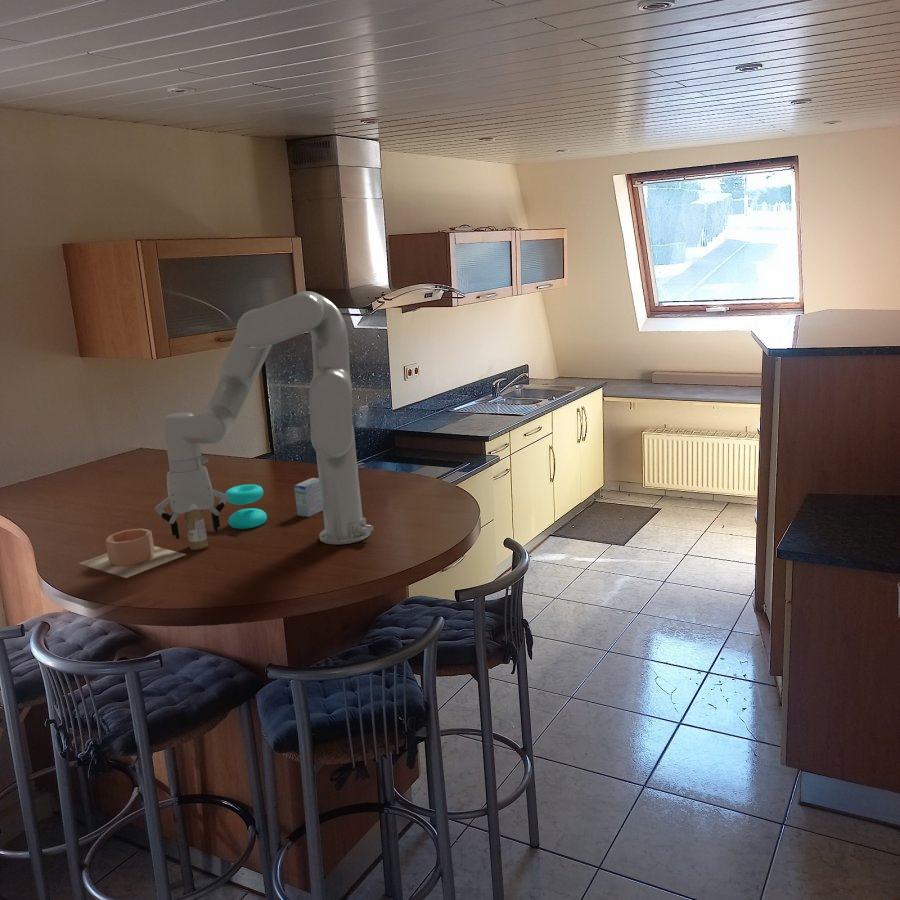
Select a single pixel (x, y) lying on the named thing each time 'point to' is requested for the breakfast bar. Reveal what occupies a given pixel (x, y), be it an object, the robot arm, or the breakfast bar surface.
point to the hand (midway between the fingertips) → (196, 533)
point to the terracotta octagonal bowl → (130, 547)
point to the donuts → (246, 516)
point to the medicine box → (308, 497)
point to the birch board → (127, 571)
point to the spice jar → (196, 528)
